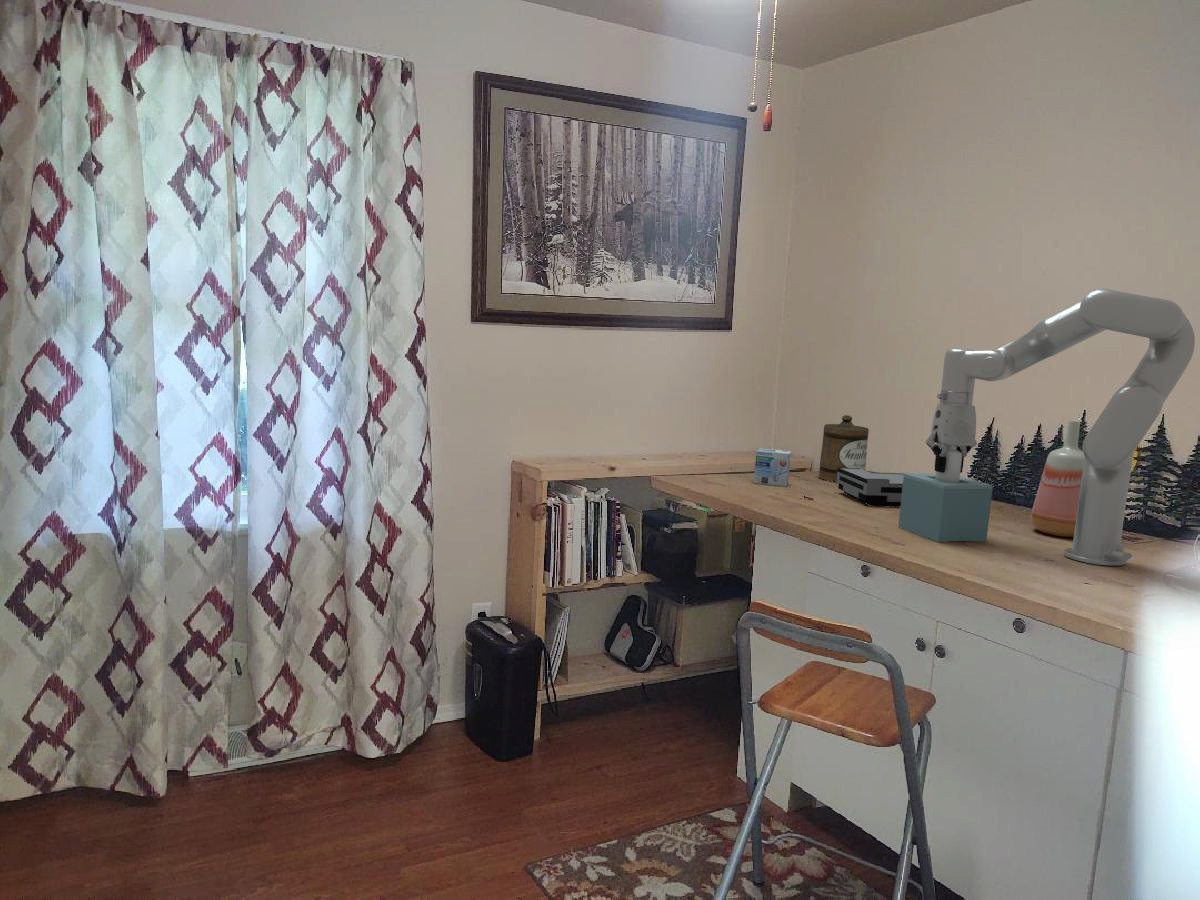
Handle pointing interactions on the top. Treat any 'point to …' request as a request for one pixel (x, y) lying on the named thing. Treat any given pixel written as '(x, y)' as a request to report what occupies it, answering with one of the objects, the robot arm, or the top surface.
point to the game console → (871, 486)
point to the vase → (1060, 488)
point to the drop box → (945, 508)
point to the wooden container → (842, 448)
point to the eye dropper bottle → (951, 466)
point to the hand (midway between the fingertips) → (948, 471)
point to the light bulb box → (772, 467)
